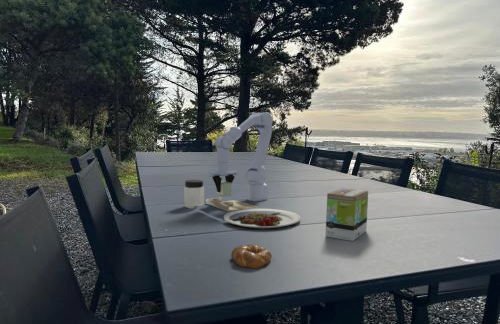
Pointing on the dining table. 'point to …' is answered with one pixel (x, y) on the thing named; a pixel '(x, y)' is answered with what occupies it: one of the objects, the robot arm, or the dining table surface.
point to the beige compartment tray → (228, 204)
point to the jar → (193, 193)
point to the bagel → (251, 256)
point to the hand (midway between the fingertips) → (223, 191)
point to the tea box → (346, 214)
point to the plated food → (263, 218)
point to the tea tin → (225, 189)
